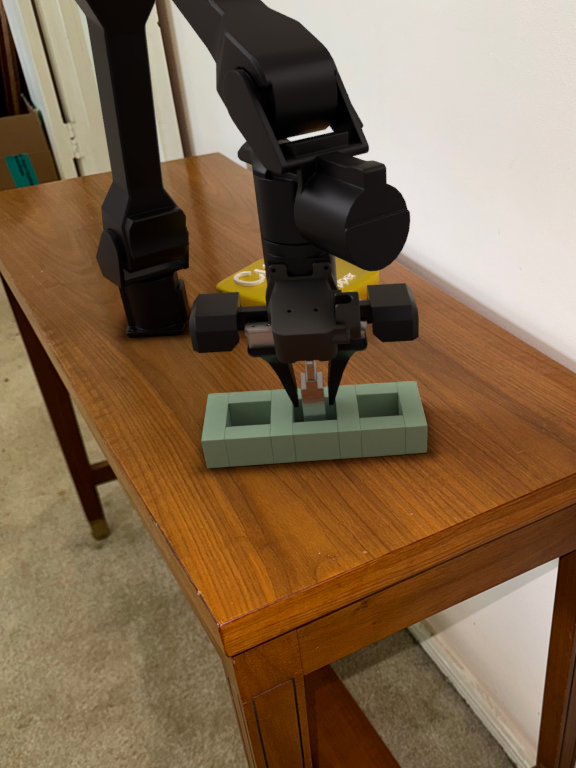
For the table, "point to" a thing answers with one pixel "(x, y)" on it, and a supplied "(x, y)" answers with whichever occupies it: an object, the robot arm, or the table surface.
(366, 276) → the element tile
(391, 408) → the rack
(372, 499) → the table surface
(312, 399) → the flat stepped stick
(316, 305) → the robot arm
